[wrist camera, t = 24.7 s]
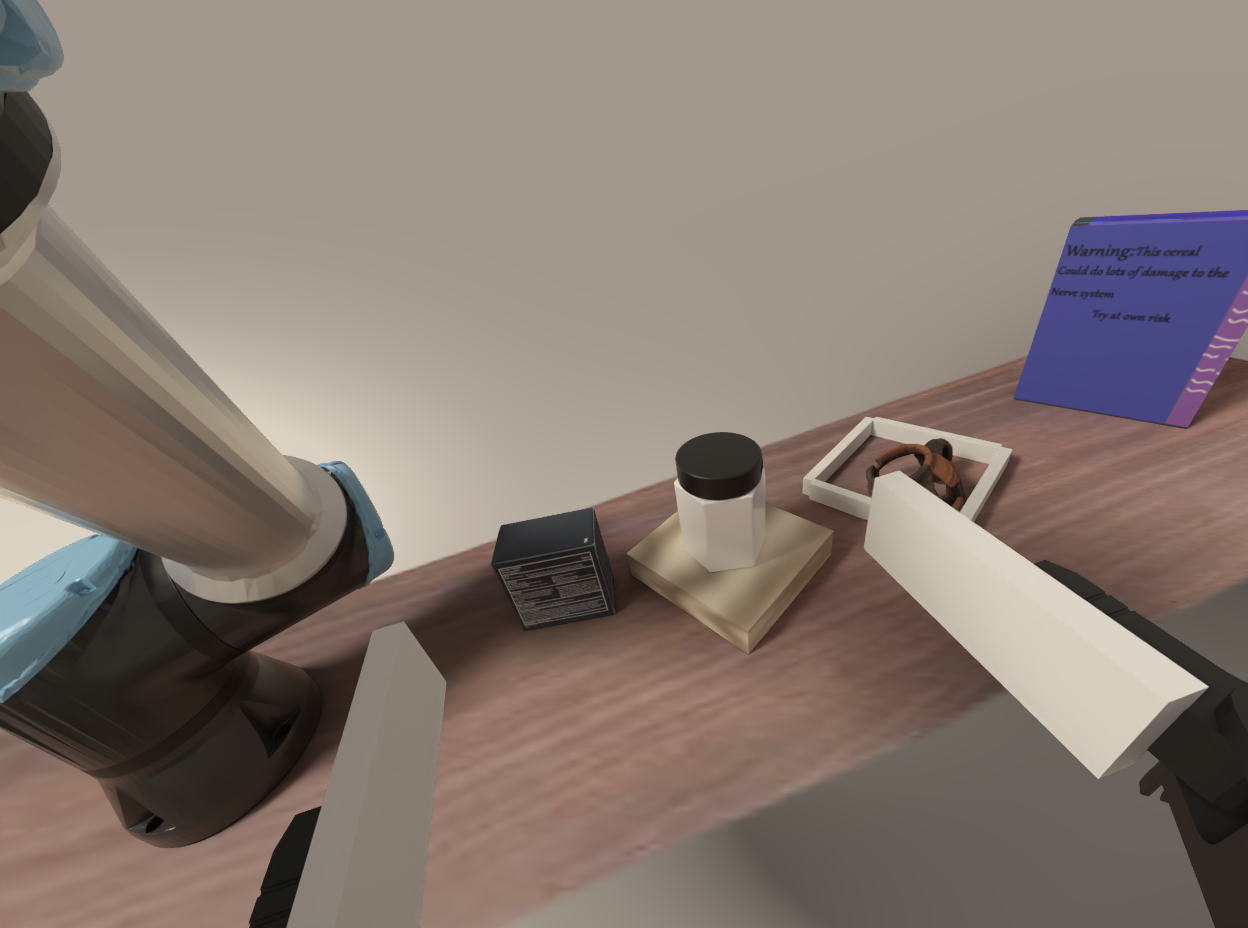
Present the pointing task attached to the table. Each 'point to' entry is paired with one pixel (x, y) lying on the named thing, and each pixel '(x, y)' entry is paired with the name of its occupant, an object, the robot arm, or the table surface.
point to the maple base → (735, 575)
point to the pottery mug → (925, 467)
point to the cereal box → (1141, 315)
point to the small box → (555, 569)
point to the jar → (721, 500)
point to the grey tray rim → (909, 435)
